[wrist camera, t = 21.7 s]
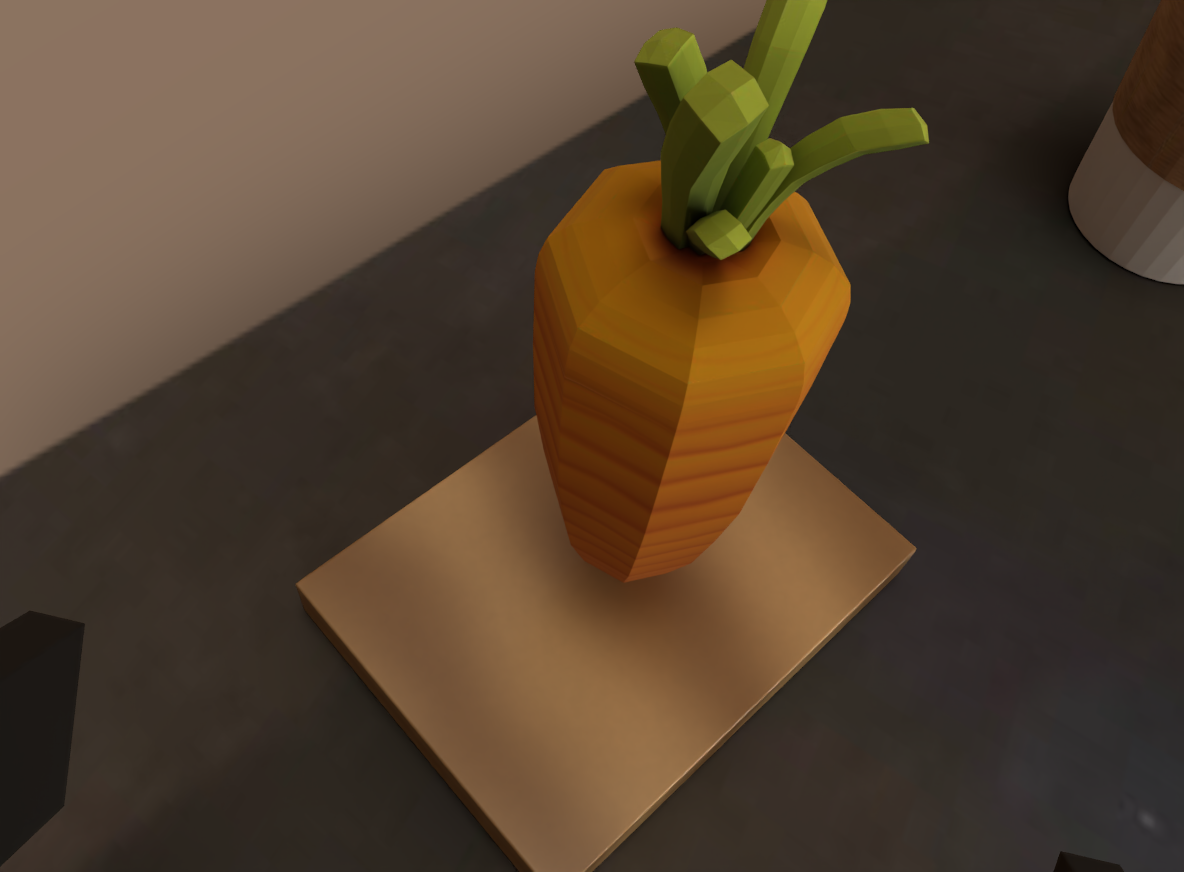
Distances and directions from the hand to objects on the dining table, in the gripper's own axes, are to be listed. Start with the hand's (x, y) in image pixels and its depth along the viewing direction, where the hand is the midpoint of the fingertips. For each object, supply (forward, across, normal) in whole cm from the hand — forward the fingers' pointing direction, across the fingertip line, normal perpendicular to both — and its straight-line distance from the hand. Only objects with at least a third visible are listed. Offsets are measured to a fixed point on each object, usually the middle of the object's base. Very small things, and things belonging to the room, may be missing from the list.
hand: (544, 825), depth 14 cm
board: (+12, 0, -1) cm, 12 cm away
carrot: (+12, 0, 0) cm, 12 cm away
